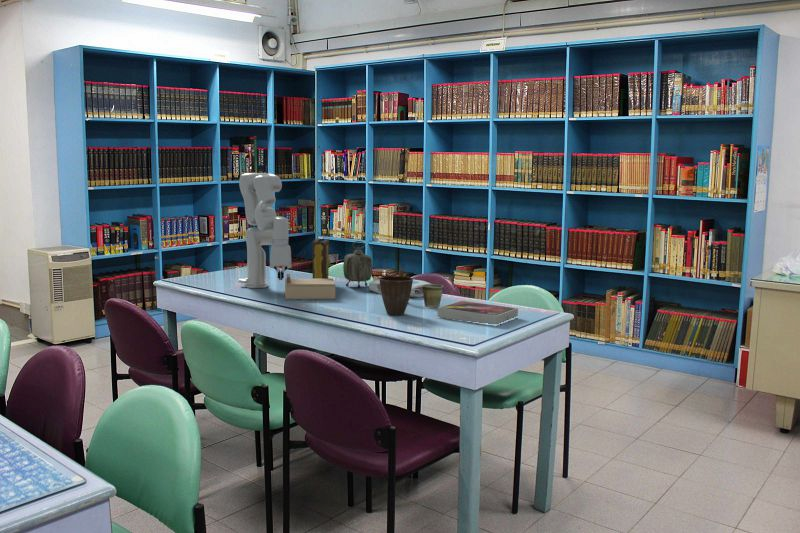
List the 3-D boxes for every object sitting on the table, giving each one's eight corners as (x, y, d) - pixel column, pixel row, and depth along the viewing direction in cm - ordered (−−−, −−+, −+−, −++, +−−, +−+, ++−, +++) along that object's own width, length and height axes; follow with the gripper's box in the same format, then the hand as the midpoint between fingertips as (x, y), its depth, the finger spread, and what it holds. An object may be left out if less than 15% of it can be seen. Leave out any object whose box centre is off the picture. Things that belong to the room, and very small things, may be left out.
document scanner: (410, 299, 354) (410, 286, 353) (368, 292, 371) (368, 280, 370) (435, 294, 370) (435, 282, 369) (393, 287, 387) (393, 276, 387)
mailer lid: (285, 285, 341) (285, 278, 341) (285, 280, 359) (285, 273, 358) (335, 285, 345) (335, 278, 345) (332, 280, 363) (332, 273, 362)
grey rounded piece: (368, 285, 391) (369, 240, 388) (373, 288, 383) (374, 241, 379) (342, 286, 387) (343, 240, 383) (347, 288, 378) (347, 242, 375)
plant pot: (371, 313, 314) (372, 277, 312) (394, 309, 325) (395, 274, 323) (396, 318, 304) (397, 282, 302) (418, 314, 315) (420, 278, 313)
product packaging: (495, 327, 294) (496, 316, 294) (437, 318, 310) (437, 307, 309) (517, 319, 312) (518, 308, 312) (461, 311, 328) (461, 300, 327)
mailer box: (285, 299, 342) (285, 286, 341) (285, 293, 360) (285, 280, 359) (335, 299, 346) (335, 286, 345) (332, 293, 364) (332, 280, 363)
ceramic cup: (439, 309, 328) (439, 288, 327) (418, 307, 332) (419, 286, 330) (447, 304, 340) (447, 284, 339) (427, 302, 344) (427, 282, 342)
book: (326, 290, 372) (326, 242, 369) (309, 289, 373) (310, 242, 369) (330, 283, 394) (331, 238, 391) (315, 283, 394) (316, 238, 391)
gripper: (264, 243, 342) (265, 281, 345) (296, 243, 345) (296, 281, 347) (265, 241, 350) (265, 278, 352) (296, 242, 352) (295, 278, 354)
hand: (280, 279), depth 349 cm, fingers closed
